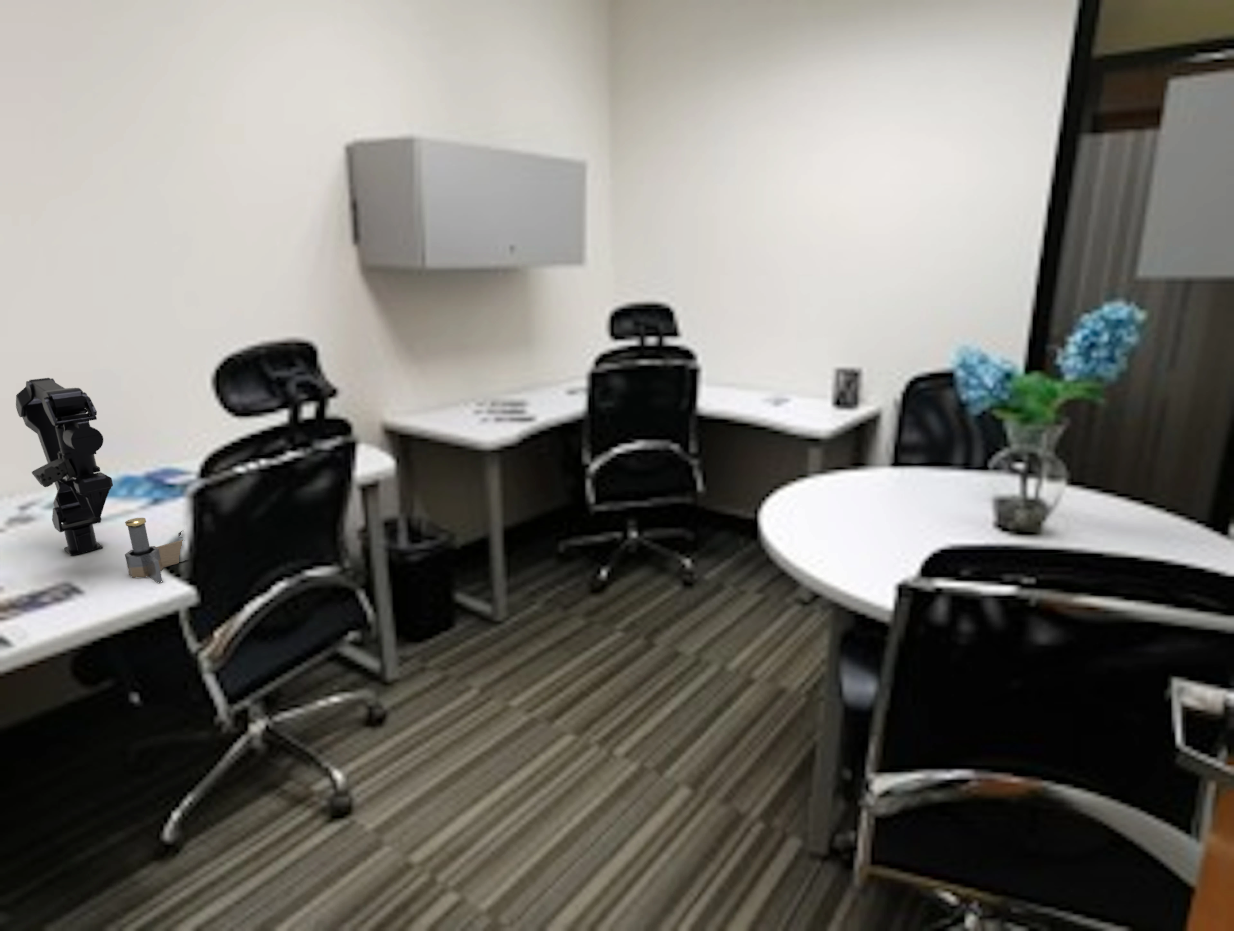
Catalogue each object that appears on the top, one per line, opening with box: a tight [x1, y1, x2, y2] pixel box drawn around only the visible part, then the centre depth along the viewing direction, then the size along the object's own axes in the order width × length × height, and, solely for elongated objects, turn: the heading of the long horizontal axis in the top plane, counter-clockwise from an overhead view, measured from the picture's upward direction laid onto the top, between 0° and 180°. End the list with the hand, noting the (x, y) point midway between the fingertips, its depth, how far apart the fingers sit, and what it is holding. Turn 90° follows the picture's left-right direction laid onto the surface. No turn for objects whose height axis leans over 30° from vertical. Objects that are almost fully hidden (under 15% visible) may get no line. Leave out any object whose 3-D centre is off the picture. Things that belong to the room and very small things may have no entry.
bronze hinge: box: [124, 539, 184, 583], centre depth 165 cm, size 12×12×5 cm
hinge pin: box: [124, 517, 151, 556], centre depth 164 cm, size 4×4×12 cm
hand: (91, 512), depth 166 cm, fingers open, 9 cm apart
